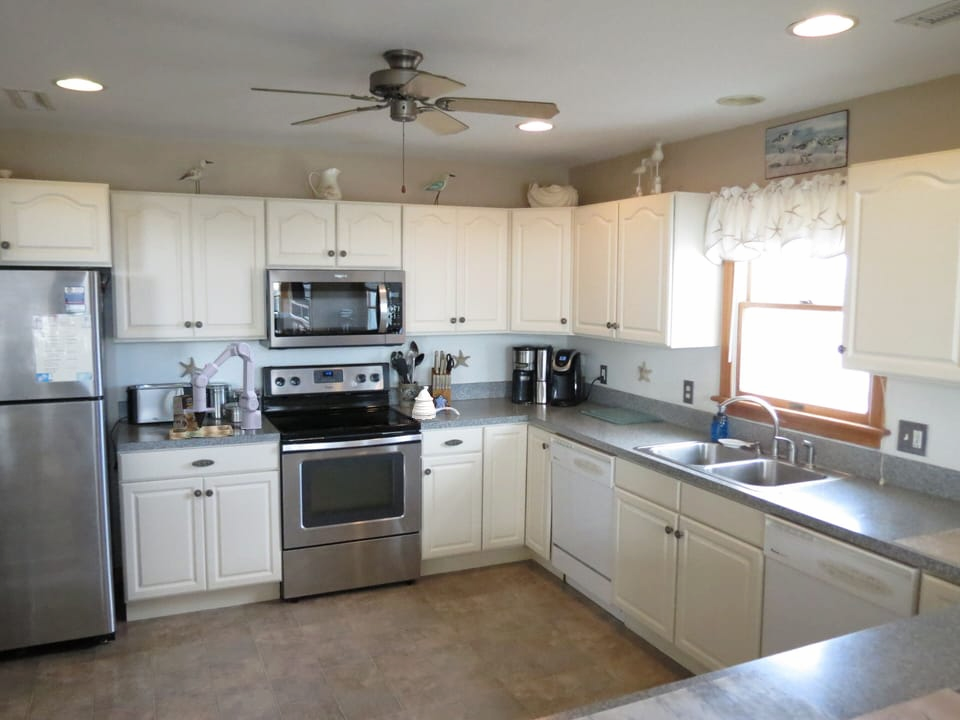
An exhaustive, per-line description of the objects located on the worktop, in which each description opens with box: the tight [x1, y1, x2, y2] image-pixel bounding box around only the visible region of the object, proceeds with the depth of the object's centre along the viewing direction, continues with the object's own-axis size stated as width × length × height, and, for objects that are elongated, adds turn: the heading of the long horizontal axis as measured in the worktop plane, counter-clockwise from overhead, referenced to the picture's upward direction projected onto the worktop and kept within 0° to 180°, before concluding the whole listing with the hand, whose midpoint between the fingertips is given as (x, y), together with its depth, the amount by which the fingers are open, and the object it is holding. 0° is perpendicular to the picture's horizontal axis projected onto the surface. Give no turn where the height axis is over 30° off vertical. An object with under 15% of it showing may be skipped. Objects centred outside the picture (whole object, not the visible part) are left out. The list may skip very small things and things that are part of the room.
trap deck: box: [168, 424, 234, 441], centre depth 354 cm, size 28×14×2 cm, turn 113°
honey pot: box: [411, 385, 437, 420], centre depth 401 cm, size 13×13×18 cm
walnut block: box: [187, 420, 198, 431], centre depth 352 cm, size 4×4×4 cm
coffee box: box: [172, 394, 196, 428], centre depth 369 cm, size 9×6×16 cm
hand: (200, 427), depth 353 cm, fingers closed
